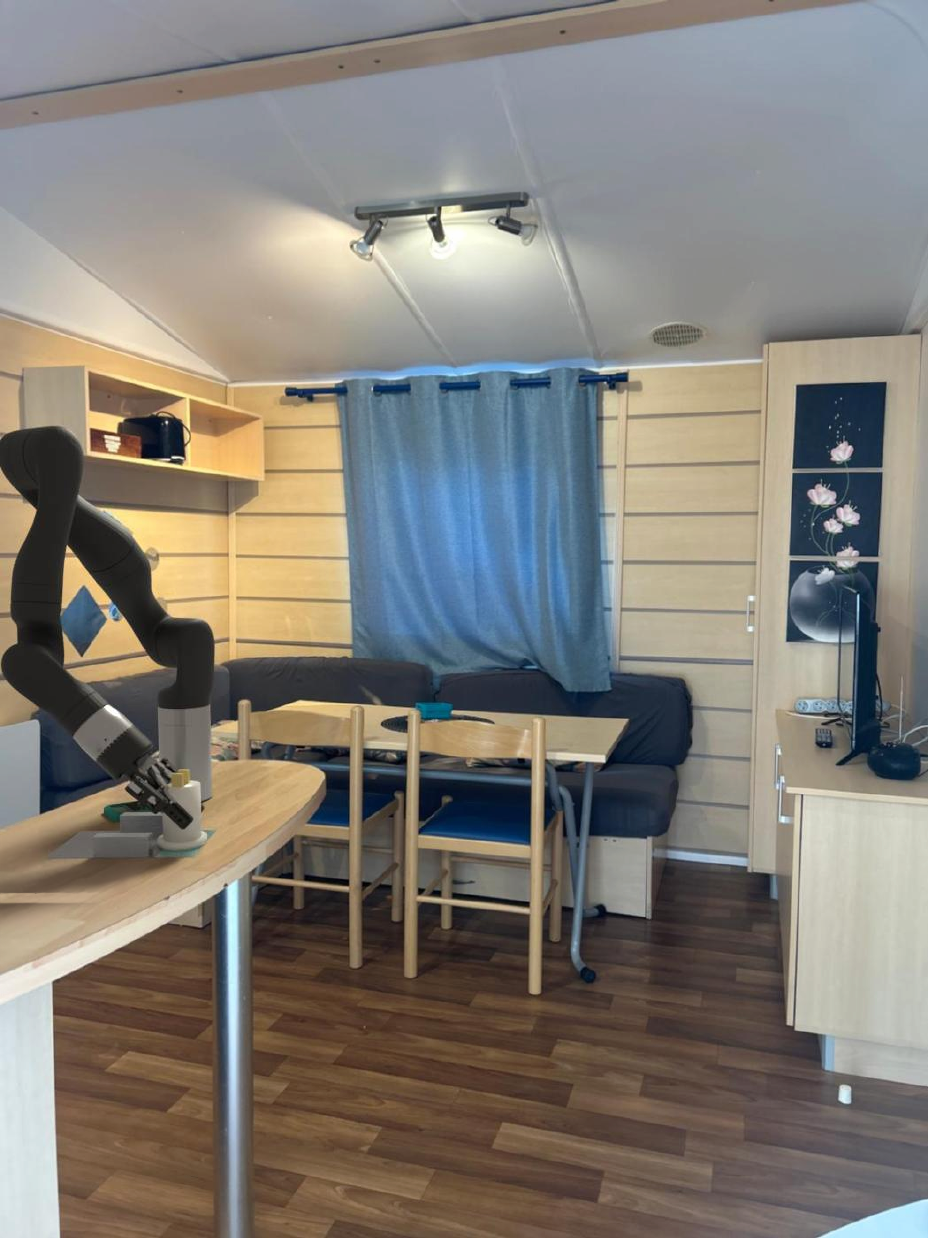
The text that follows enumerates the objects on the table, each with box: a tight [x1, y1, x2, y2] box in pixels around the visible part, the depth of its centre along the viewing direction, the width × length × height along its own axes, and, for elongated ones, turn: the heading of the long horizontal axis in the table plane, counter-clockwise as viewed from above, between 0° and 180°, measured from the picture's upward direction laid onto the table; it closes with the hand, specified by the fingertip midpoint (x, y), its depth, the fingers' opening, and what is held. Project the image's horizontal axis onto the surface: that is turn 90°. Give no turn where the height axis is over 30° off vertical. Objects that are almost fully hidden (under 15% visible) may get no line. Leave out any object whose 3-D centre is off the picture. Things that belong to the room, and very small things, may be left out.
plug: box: [157, 769, 208, 851], centre depth 139 cm, size 7×7×11 cm
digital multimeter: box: [103, 800, 154, 823], centre depth 158 cm, size 7×15×3 cm, turn 127°
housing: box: [44, 812, 217, 859], centre depth 140 cm, size 13×22×4 cm, turn 91°
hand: (194, 818), depth 139 cm, fingers closed on plug, 5 cm apart
